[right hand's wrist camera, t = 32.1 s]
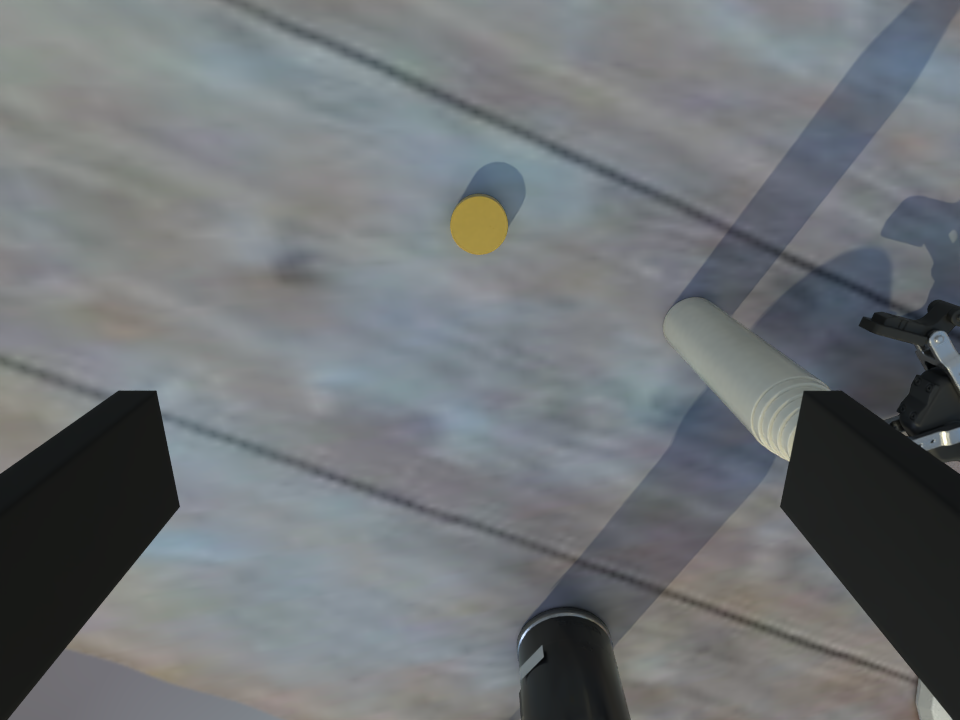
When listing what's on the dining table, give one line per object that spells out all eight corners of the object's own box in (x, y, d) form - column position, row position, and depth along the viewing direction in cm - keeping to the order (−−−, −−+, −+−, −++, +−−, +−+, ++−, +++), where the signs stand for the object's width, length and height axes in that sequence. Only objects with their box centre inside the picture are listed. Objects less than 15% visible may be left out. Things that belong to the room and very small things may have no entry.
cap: (442, 233, 47) (440, 238, 45) (467, 183, 45) (466, 185, 43) (490, 259, 47) (491, 264, 45) (516, 210, 46) (518, 213, 44)
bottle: (652, 316, 49) (789, 459, 27) (705, 285, 48) (888, 408, 26) (678, 361, 50) (828, 531, 29) (730, 332, 49) (924, 485, 28)
